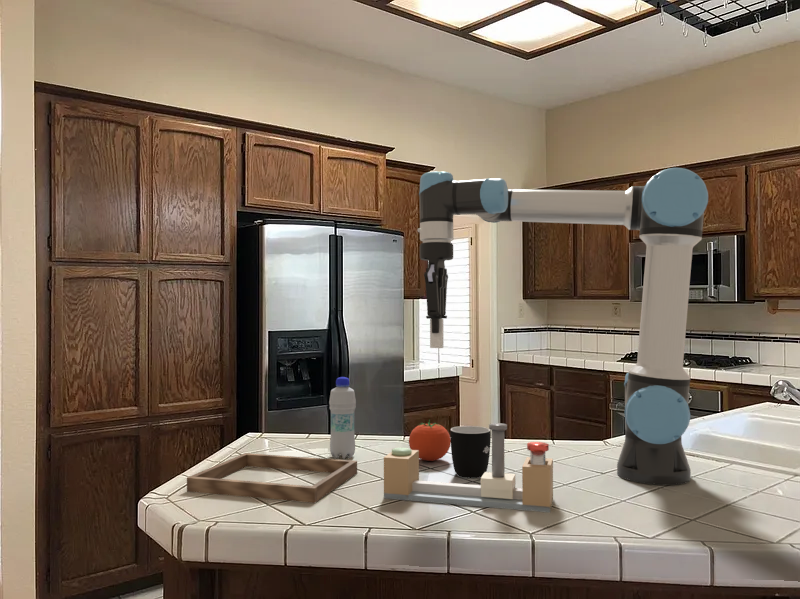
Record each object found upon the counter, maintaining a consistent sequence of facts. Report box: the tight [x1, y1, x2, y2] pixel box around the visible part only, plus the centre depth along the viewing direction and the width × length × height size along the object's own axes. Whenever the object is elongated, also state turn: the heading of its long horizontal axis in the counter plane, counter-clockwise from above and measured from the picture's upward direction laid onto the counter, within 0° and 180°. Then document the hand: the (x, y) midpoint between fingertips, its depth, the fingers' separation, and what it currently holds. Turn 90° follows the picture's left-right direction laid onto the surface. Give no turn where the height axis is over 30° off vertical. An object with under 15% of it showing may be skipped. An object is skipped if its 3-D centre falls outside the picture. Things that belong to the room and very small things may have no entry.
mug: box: [449, 425, 492, 479], centre depth 150 cm, size 12×9×10 cm
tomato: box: [408, 419, 451, 462], centre depth 162 cm, size 10×10×10 cm
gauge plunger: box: [526, 441, 550, 465], centre depth 126 cm, size 4×4×9 cm
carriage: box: [480, 422, 517, 499], centre depth 128 cm, size 6×5×14 cm
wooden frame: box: [186, 452, 358, 504], centre depth 143 cm, size 28×23×3 cm
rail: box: [383, 447, 554, 513], centre depth 130 cm, size 32×8×9 cm, turn 73°
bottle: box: [328, 376, 357, 460], centre depth 166 cm, size 7×7×20 cm
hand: (436, 347), depth 148 cm, fingers closed
